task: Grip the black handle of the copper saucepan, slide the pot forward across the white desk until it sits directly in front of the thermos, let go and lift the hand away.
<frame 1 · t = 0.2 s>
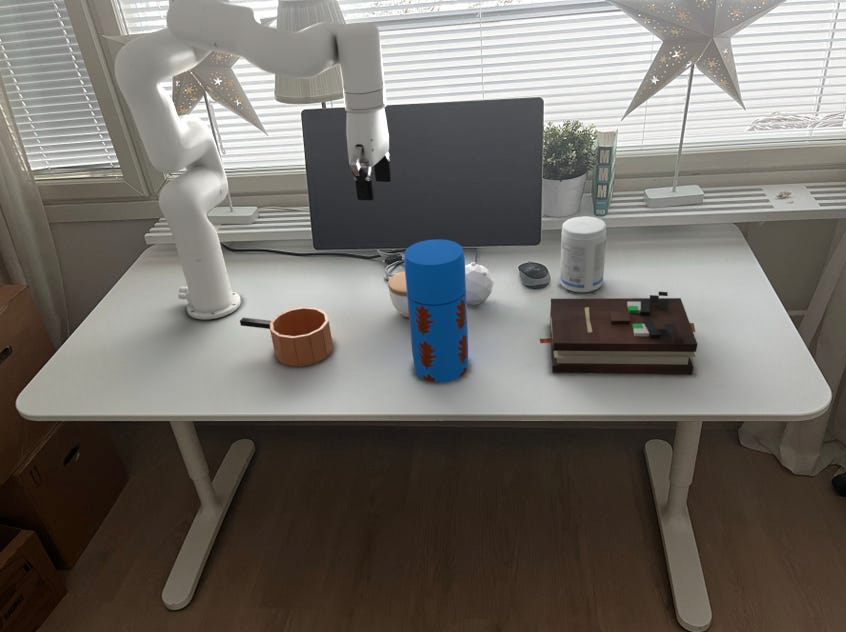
hand: (375, 190, 138), 31 cm above the table, tool pointing down, fingers open, 9 cm apart
thermos: (441, 368, 140), on the table
decorative book: (616, 350, 140), on the table
decorative ball: (475, 299, 162), on the table
supplement tub: (580, 284, 163), on the table
trinket box: (415, 311, 160), on the table
copper saucepan: (304, 350, 150), on the table
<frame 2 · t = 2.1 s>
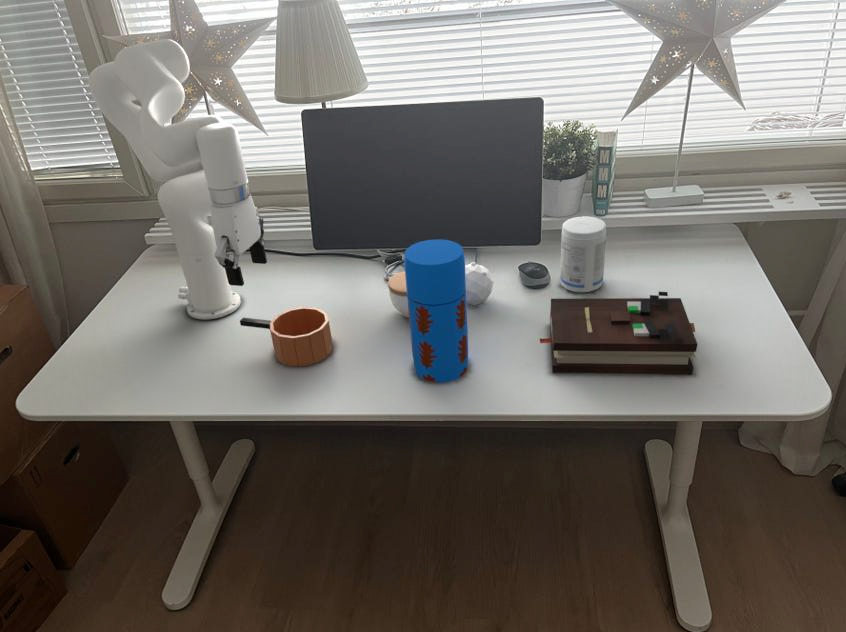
hand: (248, 273, 144), 17 cm above the table, tool pointing down, fingers open, 9 cm apart
nothing on the table moved.
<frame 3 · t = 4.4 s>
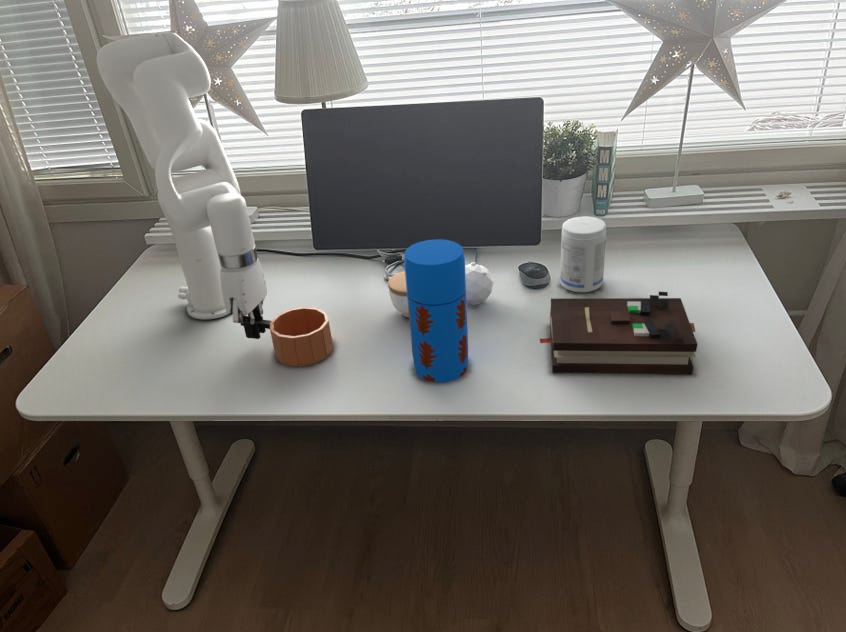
hand: (256, 334, 152), 3 cm above the table, tool pointing down, fingers closed on copper saucepan
copper saucepan: (304, 350, 150), on the table, touching gripper
everything else where it was.
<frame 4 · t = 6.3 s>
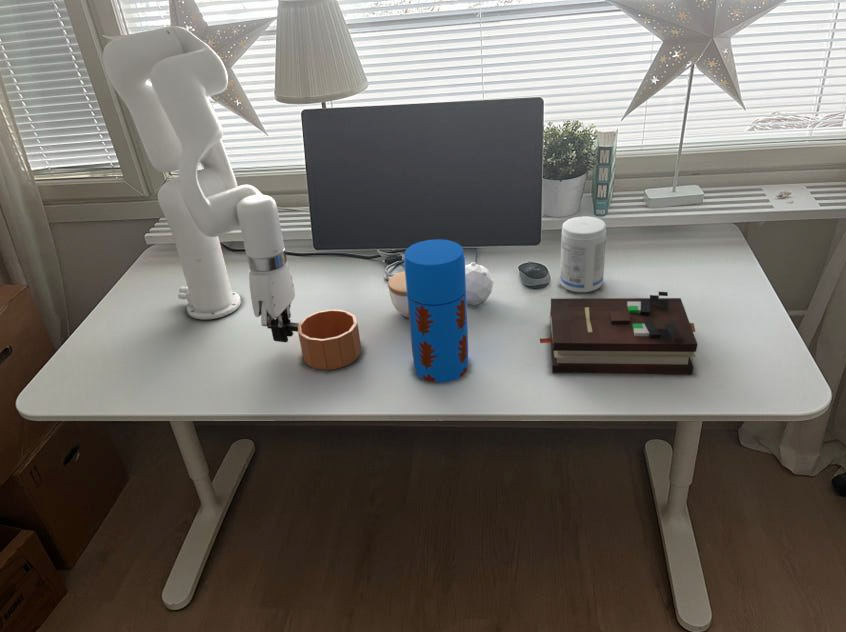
hand: (283, 337, 150), 3 cm above the table, tool pointing down, fingers closed on copper saucepan
copper saucepan: (332, 353, 148), on the table, touching gripper
everything else where it was.
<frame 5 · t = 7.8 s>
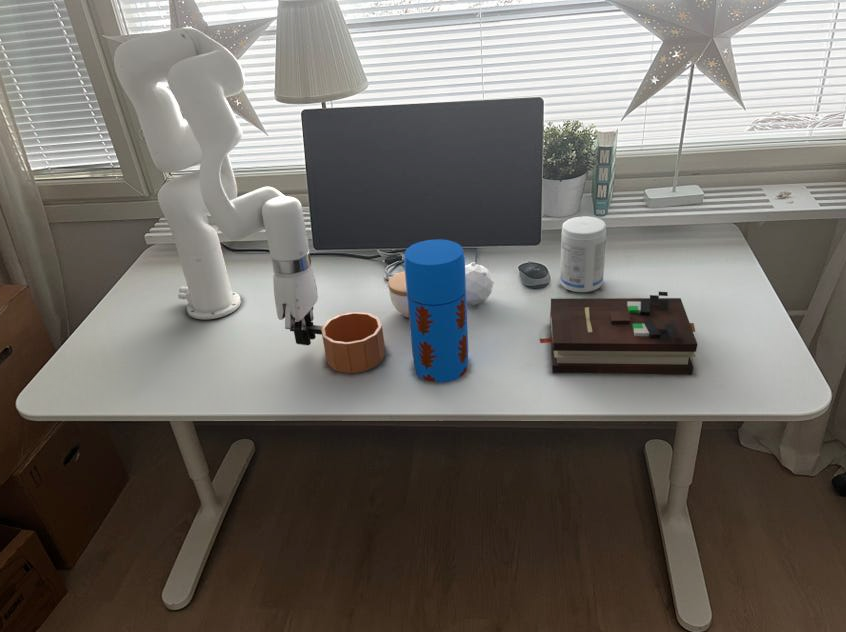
hand: (305, 340, 148), 2 cm above the table, tool pointing down, fingers closed on copper saucepan
copper saucepan: (355, 356, 146), on the table, touching gripper
everything else where it was.
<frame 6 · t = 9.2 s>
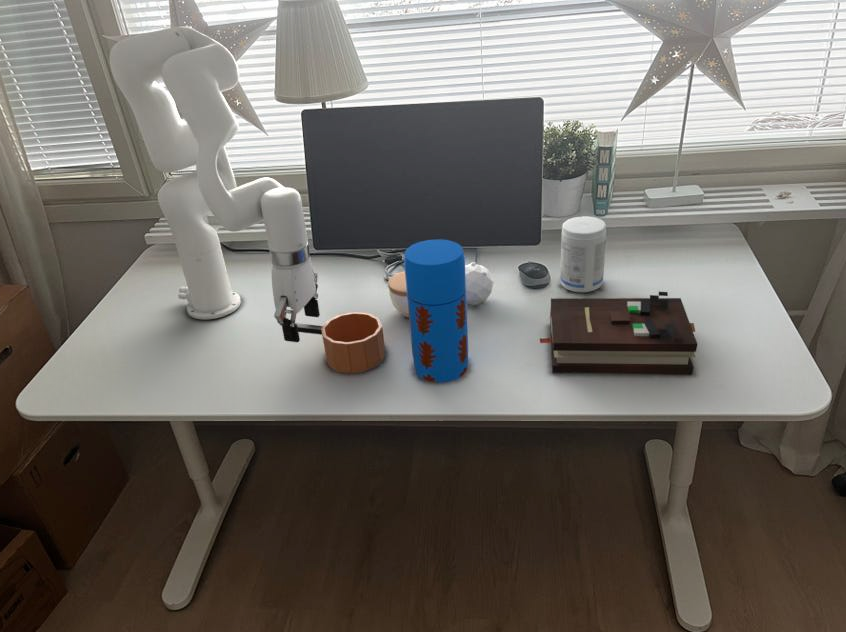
hand: (302, 328, 147), 5 cm above the table, tool pointing down, fingers open, 9 cm apart
copper saucepan: (355, 356, 146), on the table
everything else where it was.
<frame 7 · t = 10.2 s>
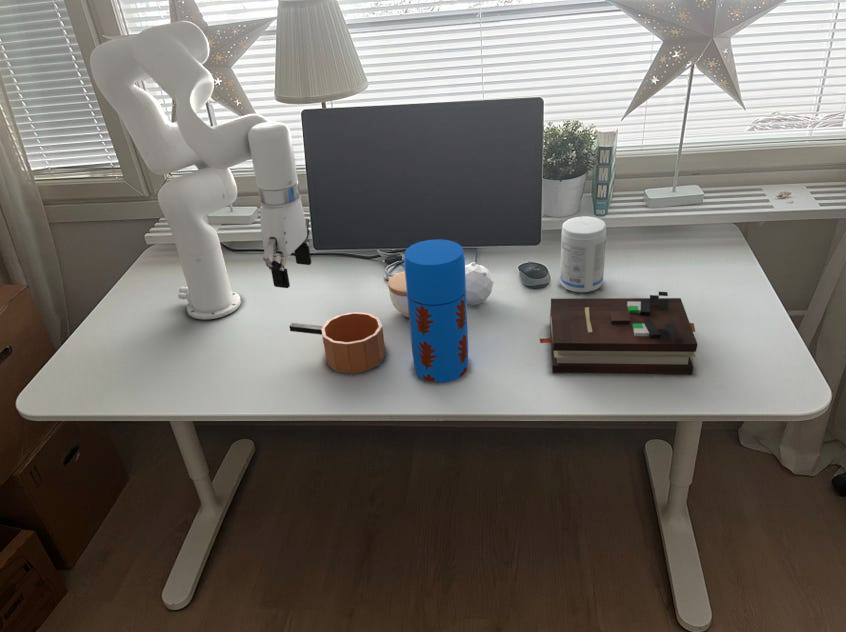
hand: (293, 275, 141), 17 cm above the table, tool pointing down, fingers open, 9 cm apart
nothing on the table moved.
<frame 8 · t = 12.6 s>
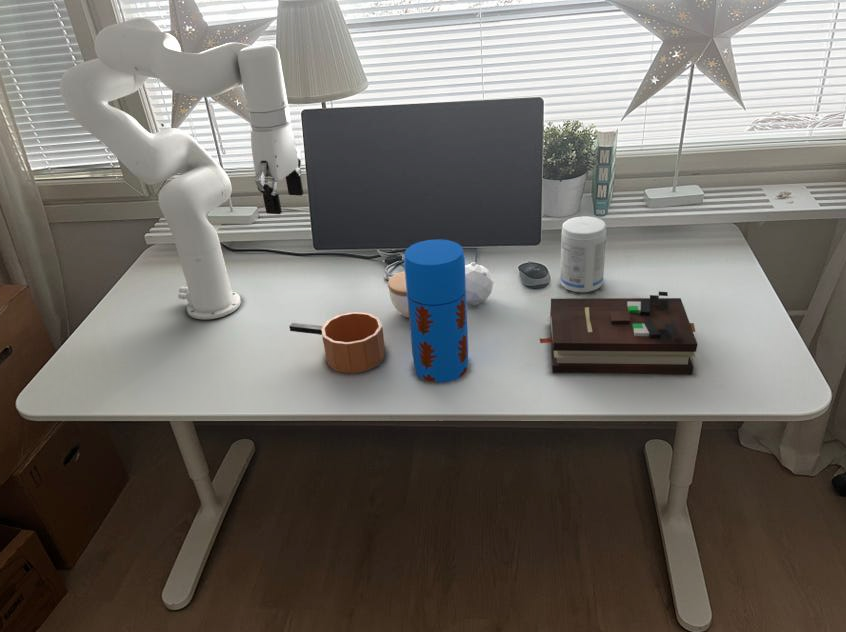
hand: (285, 203, 143), 28 cm above the table, tool pointing down, fingers open, 9 cm apart
nothing on the table moved.
at the end: copper saucepan 0.3 cm from the target spot, on the table; copper saucepan tilted 0°; thermos moved 0.2 cm from its start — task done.
